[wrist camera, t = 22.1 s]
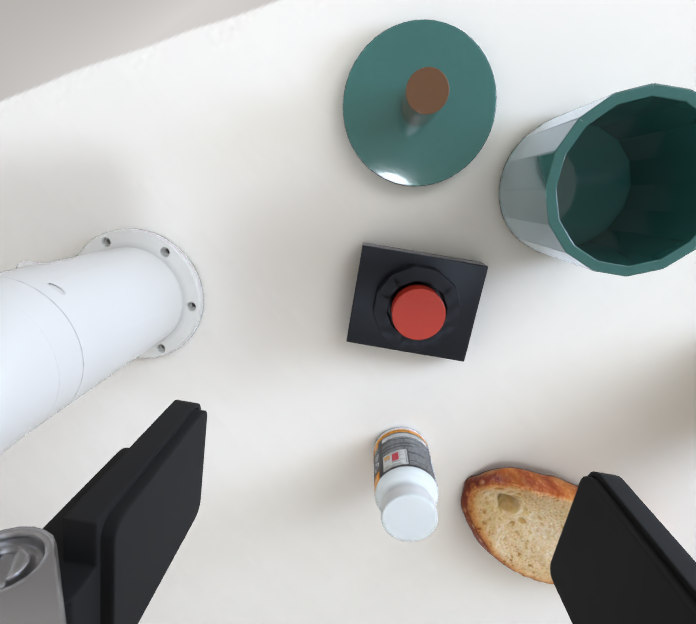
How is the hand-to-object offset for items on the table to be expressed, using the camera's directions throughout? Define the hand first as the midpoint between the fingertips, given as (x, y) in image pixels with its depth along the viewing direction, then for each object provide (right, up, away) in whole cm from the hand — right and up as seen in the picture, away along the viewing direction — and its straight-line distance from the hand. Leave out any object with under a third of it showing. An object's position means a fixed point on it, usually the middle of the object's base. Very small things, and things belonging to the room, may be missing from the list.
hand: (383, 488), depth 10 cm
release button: (+5, +5, +26) cm, 27 cm away
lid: (+5, +21, +25) cm, 33 cm away
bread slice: (+22, -18, +35) cm, 45 cm away
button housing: (+5, +6, +30) cm, 31 cm away
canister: (+18, +15, +26) cm, 35 cm away
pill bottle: (+5, -10, +34) cm, 36 cm away
